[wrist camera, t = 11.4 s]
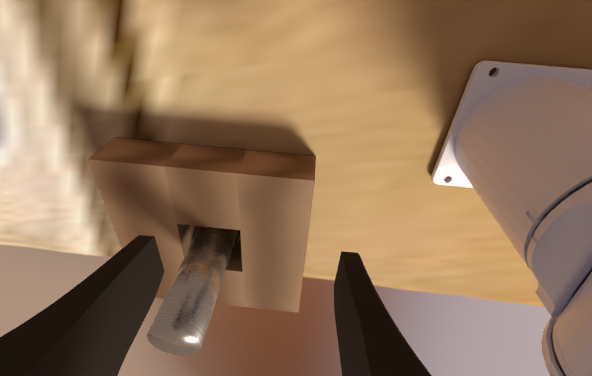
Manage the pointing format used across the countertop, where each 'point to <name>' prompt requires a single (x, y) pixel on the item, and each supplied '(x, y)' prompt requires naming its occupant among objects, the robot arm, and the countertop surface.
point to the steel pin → (193, 293)
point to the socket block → (214, 211)
